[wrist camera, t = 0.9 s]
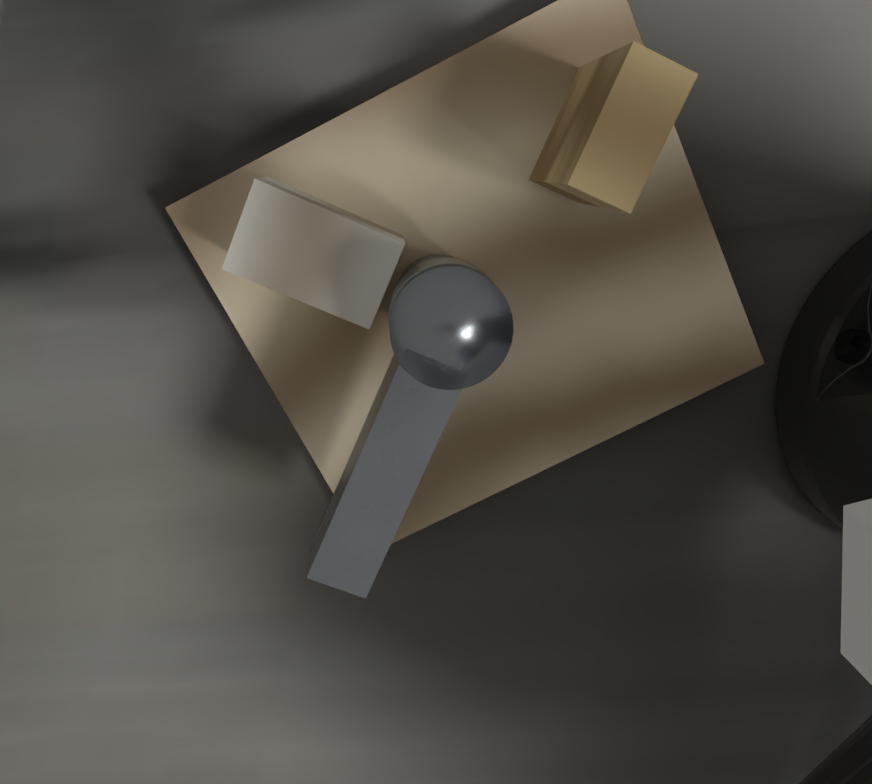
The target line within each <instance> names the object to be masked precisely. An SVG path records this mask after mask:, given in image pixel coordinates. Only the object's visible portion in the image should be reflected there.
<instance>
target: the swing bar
mask: <svg viewBox="0 0 872 784" xmlns="http://www.w3.org/2000/svg"><path fill="white" fill-rule="evenodd" d="M513 331H514V330H513V317H512V312H511V309H510V306H509V304H508V302H507V299H506V298H505V296H504V295H503V293H502V292H501V290H500V289H499V288H498V287H497V286H496V285H495V284H494V283H493V281H492V280H491V279H490V278H489V277H488V276H487V275H486V274H485V273H484V272H483V271H482V270H481V269H479V268H478V267H476V266H475V265H473V264H471V263H469V262H467V261H464V260H461V259H457V258H449V257H443V258H435V259H430V260H427V261H424V262H422V263H420V264H418V265H416V266H415V267H413V268H412V269H410V270H409V271H408V272H407V273H406V274H405V275H404V276H403V277H402V278H401V279H400V281H399V282H398V284H397V285H396V287H395V289H394V291H393V294H392V296H391V299H390V304H389V334H390V342H391V346H392V349H393V352H394V355H393V357H392V360H391V362H390V364H389V366H388V369H387V371H386V373H385V376H384V378H383V380H382V383H381V385H380V387H379V390H378V392H377V394H376V397H375V399H374V401H373V404H372V406H371V408H370V411H369V413H368V415H367V418H366V420H365V422H364V425H363V427H362V429H361V432H360V434H359V436H358V438H357V441H356V443H355V445H354V448H353V450H352V452H351V455H350V457H349V459H348V462H347V464H346V466H345V469H344V471H343V473H342V476H341V478H340V480H339V483H338V485H337V487H336V490H335V492H334V494H333V497H332V499H331V501H330V503H329V506H328V508H327V510H326V513H325V515H324V517H323V520H322V522H321V524H320V527H319V529H318V531H317V534H316V536H315V538H314V541H313V545H312V551H311V556H310V562H309V567H308V573H307V579H310V580H313V581H316V582H319V583H322V584H325V585H327V586H330V587H333V588H336V589H339V590H342V591H345V592H348V593H350V594H353V595H356V596H359V597H362V598H365V599H366V597H367V595H368V593H369V591H370V589H371V587H372V584H373V582H374V580H375V578H376V576H377V573H378V571H379V569H380V567H381V565H382V563H383V560H384V558H385V556H386V554H387V552H388V549H389V547H390V545H391V543H392V541H393V539H394V536H395V534H396V532H397V530H398V528H399V525H400V523H401V521H402V519H403V517H404V515H405V512H406V510H407V508H408V506H409V504H410V501H411V499H412V497H413V495H414V493H415V491H416V488H417V486H418V484H419V482H420V480H421V477H422V475H423V473H424V471H425V469H426V467H427V464H428V462H429V460H430V458H431V456H432V453H433V451H434V449H435V447H436V445H437V443H438V440H439V438H440V436H441V434H442V432H443V429H444V427H445V425H446V423H447V421H448V419H449V416H450V414H451V412H452V410H453V408H454V405H455V403H456V401H457V399H458V397H459V395H460V392H461V390H462V389H464V388H468V387H471V386H474V385H476V384H478V383H480V382H482V381H484V380H485V379H487V378H488V377H489V376H491V375H492V374H493V373H494V372H495V371H496V370H497V369H498V368H499V367H500V365H501V364H502V363H503V361H504V360H505V358H506V356H507V354H508V352H509V349H510V347H511V343H512V339H513Z"/></svg>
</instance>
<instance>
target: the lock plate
mask: <svg viewBox="0 0 872 784" xmlns="http://www.w3.org/2000/svg"><path fill="white" fill-rule="evenodd" d="M697 76H698V73H696V72H694V71H692V70H690V69H688V68H686V67H684V66H682V65H680V64H678V63H676V62H674V61H672V60H670V59H668V58H666V57H664V56H662V55H660V54H658V53H656V52H654V51H652V50H650V49H648V48H646V47H644V44H643V41H642V39H641V36H640V33H639V31H638V28H637V26H636V23H635V20H634V18H633V15H632V12H631V10H630V7H629V4H628V2H627V0H557V1H555V2H554V3H552V4H550V5H548V6H546V7H544V8H542V9H540V10H538V11H537V12H535V13H533V14H531V15H529V16H527V17H525V18H523V19H521V20H519V21H518V22H516V23H514V24H512V25H510V26H508V27H506V28H504V29H502V30H501V31H499V32H497V33H495V34H493V35H491V36H489V37H487V38H485V39H483V40H482V41H480V42H478V43H476V44H474V45H472V46H470V47H468V48H466V49H465V50H463V51H461V52H459V53H457V54H455V55H453V56H451V57H449V58H448V59H446V60H444V61H442V62H440V63H438V64H436V65H434V66H432V67H430V68H429V69H427V70H425V71H423V72H421V73H419V74H417V75H415V76H413V77H412V78H410V79H408V80H406V81H404V82H402V83H400V84H398V85H396V86H394V87H393V88H391V89H389V90H387V91H385V92H383V93H381V94H379V95H377V96H376V97H374V98H372V99H370V100H368V101H366V102H364V103H362V104H360V105H359V106H357V107H355V108H353V109H351V110H349V111H347V112H345V113H343V114H341V115H340V116H338V117H336V118H334V119H332V120H330V121H328V122H326V123H324V124H323V125H321V126H319V127H317V128H315V129H313V130H311V131H309V132H307V133H305V134H304V135H302V136H300V137H298V138H296V139H294V140H292V141H290V142H288V143H287V144H285V145H283V146H281V147H279V148H277V149H275V150H273V151H271V152H270V153H268V154H266V155H264V156H262V157H260V158H258V159H256V160H254V161H252V162H251V163H249V164H247V165H245V166H243V167H241V168H239V169H237V170H235V171H234V172H232V173H230V174H228V175H226V176H224V177H222V178H220V179H218V180H217V181H215V182H213V183H211V184H209V185H207V186H205V187H203V188H201V189H199V190H198V191H196V192H194V193H192V194H190V195H188V196H186V197H184V198H182V199H181V200H179V201H177V202H175V203H173V204H171V205H169V206H167V207H165V209H166V211H167V212H168V214H169V216H170V217H171V219H172V221H173V222H174V224H175V226H176V228H177V229H178V231H179V233H180V234H181V236H182V238H183V239H184V241H185V243H186V245H187V246H188V248H189V250H190V251H191V253H192V255H193V256H194V258H195V260H196V261H197V263H198V265H199V267H200V268H201V270H202V272H203V273H204V275H205V277H206V278H207V280H208V282H209V284H210V285H211V287H212V289H213V290H214V292H215V294H216V295H217V297H218V299H219V301H220V302H221V304H222V306H223V307H224V309H225V311H226V312H227V314H228V316H229V317H230V319H231V321H232V323H233V324H234V326H235V328H236V329H237V331H238V333H239V334H240V336H241V338H242V340H243V341H244V343H245V345H246V346H247V348H248V350H249V351H250V353H251V355H252V356H253V358H254V360H255V362H256V363H257V365H258V367H259V368H260V370H261V372H262V373H263V375H264V377H265V379H266V380H267V382H268V384H269V385H270V387H271V389H272V390H273V392H274V394H275V396H276V397H277V399H278V401H279V402H280V404H281V406H282V407H283V409H284V411H285V412H286V414H287V416H288V418H289V419H290V421H291V423H292V424H293V426H294V428H295V429H296V431H297V433H298V435H299V436H300V438H301V440H302V441H303V443H304V445H305V446H306V448H307V450H308V452H309V453H310V455H311V457H312V458H313V460H314V462H315V463H316V465H317V467H318V468H319V470H320V472H321V474H322V475H323V477H324V479H325V480H326V482H327V484H328V485H329V487H330V489H331V491H332V492H333V494H334V492H335V490H336V487H337V485H338V483H339V480H340V478H341V476H342V473H343V471H344V469H345V466H346V464H347V462H348V459H349V457H350V455H351V452H352V450H353V448H354V445H355V443H356V441H357V438H358V436H359V434H360V432H361V429H362V427H363V425H364V422H365V420H366V418H367V415H368V413H369V411H370V408H371V406H372V404H373V401H374V399H375V397H376V394H377V392H378V390H379V387H380V385H381V383H382V380H383V378H384V376H385V373H386V371H387V369H388V366H389V364H390V362H391V360H392V357H393V355H394V352H393V349H392V346H391V342H390V334H389V304H390V299H391V296H392V294H393V291H394V289H395V287H396V285H397V284H398V282H399V281H400V279H401V278H402V277H403V276H404V275H405V274H406V273H407V272H408V271H409V270H410V269H412V268H413V267H415V266H416V265H418V264H420V263H422V262H424V261H427V260H430V259H435V258H443V257H449V258H457V259H461V260H464V261H467V262H469V263H471V264H473V265H475V266H476V267H478V268H479V269H481V270H482V271H483V272H484V273H485V274H486V275H487V276H488V277H489V278H490V279H491V280H492V281H493V283H494V284H495V285H496V286H497V287H498V288H499V289H500V290H501V292H502V293H503V295H504V296H505V298H506V299H507V302H508V304H509V306H510V309H511V312H512V317H513V330H514V331H513V339H512V343H511V347H510V349H509V352H508V354H507V356H506V358H505V360H504V361H503V363H502V364H501V365H500V367H499V368H498V369H497V370H496V371H495V372H494V373H493V374H492V375H491V376H489V377H488V378H487V379H485V380H484V381H482V382H480V383H478V384H476V385H474V386H471V387H468V388H464V389H462V390H461V392H460V395H459V397H458V399H457V401H456V403H455V405H454V408H453V410H452V412H451V414H450V416H449V419H448V421H447V423H446V425H445V427H444V429H443V432H442V434H441V436H440V438H439V440H438V443H437V445H436V447H435V449H434V451H433V453H432V456H431V458H430V460H429V462H428V464H427V467H426V469H425V471H424V473H423V475H422V477H421V480H420V482H419V484H418V486H417V488H416V491H415V493H414V495H413V497H412V499H411V501H410V504H409V506H408V508H407V510H406V512H405V515H404V517H403V519H402V521H401V523H400V525H399V528H398V530H397V532H396V534H395V536H394V539H393V541H392V543H394V542H396V541H398V540H401V539H403V538H405V537H407V536H409V535H411V534H413V533H415V532H417V531H419V530H421V529H423V528H425V527H427V526H430V525H432V524H434V523H436V522H438V521H440V520H442V519H444V518H446V517H448V516H450V515H452V514H454V513H456V512H458V511H461V510H463V509H465V508H467V507H469V506H471V505H473V504H475V503H477V502H479V501H481V500H483V499H485V498H487V497H489V496H492V495H494V494H496V493H498V492H500V491H502V490H504V489H506V488H508V487H510V486H512V485H514V484H516V483H518V482H521V481H523V480H525V479H527V478H529V477H531V476H533V475H535V474H537V473H539V472H541V471H543V470H545V469H547V468H549V467H552V466H554V465H556V464H558V463H560V462H562V461H564V460H566V459H568V458H570V457H572V456H574V455H576V454H578V453H581V452H583V451H585V450H587V449H589V448H591V447H593V446H595V445H597V444H599V443H601V442H603V441H605V440H607V439H609V438H612V437H614V436H616V435H618V434H620V433H622V432H624V431H626V430H628V429H630V428H632V427H634V426H636V425H638V424H640V423H643V422H645V421H647V420H649V419H651V418H653V417H655V416H657V415H659V414H661V413H663V412H665V411H667V410H669V409H672V408H674V407H676V406H678V405H680V404H682V403H684V402H686V401H688V400H690V399H692V398H694V397H696V396H698V395H700V394H703V393H705V392H707V391H709V390H711V389H713V388H715V387H717V386H719V385H721V384H723V383H725V382H727V381H729V380H732V379H734V378H736V377H738V376H740V375H742V374H744V373H746V372H748V371H750V370H752V369H754V368H756V367H758V366H760V365H763V364H765V363H764V361H763V358H762V355H761V353H760V350H759V347H758V345H757V342H756V340H755V337H754V334H753V332H752V329H751V326H750V324H749V321H748V318H747V316H746V313H745V311H744V308H743V305H742V303H741V300H740V297H739V295H738V292H737V289H736V287H735V284H734V282H733V279H732V276H731V274H730V271H729V268H728V266H727V263H726V260H725V258H724V255H723V252H722V250H721V247H720V245H719V242H718V239H717V237H716V234H715V231H714V229H713V226H712V223H711V221H710V218H709V216H708V213H707V210H706V208H705V205H704V202H703V200H702V197H701V194H700V192H699V189H698V187H697V184H696V181H695V179H694V176H693V173H692V171H691V168H690V165H689V163H688V160H687V158H686V155H685V152H684V150H683V147H682V144H681V142H680V139H679V136H678V134H677V131H676V128H675V126H674V123H675V121H676V119H677V117H678V115H679V113H680V111H681V109H682V107H683V105H684V103H685V101H686V99H687V97H688V95H689V92H690V90H691V88H692V86H693V84H694V82H695V80H696V78H697ZM392 543H391V544H392Z"/></svg>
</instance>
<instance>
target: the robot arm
mask: <svg viewBox="0 0 872 784" xmlns="http://www.w3.org/2000/svg"><path fill="white" fill-rule="evenodd" d="M776 418H777V428H778V434H779V439H780V443H781V448H782V451H783V454H784V457H785V460H786V462H787V465H788V467H789V469H790V472H791V474H792V475H793V477H794V479H795V481H796V483H797V484H798V486H799V487H800V489H801V490H802V492H803V493H804V494H805V496H806V497H807V498H808V499H809V500H810V502H811V503H812V504H813V505H814V506H815V507H816V508H817V509H818V510H819V511H820V512H822V513H823V514H824V515H825V516H826V517H827V518H829V519H830V520H831V521H832V522H834V523H835V524H836V525H837V526H839V527H840V528H841V529H843V551H842V601H841V651H840V653H841V654H842V655H843V656H844V657H845V658H846V659H847V660H848V661H849V662H850V663H851V664H852V665H853V666H854V667H855V668H856V669H857V670H858V672H859V673H860V674H861V675H862V676H863V677H864V678H865V679H866V680H867V681H868V682H869V683H870V684H871V685H872V232H871V233H869V234H868V235H867V236H865V237H864V238H863V239H862V240H860V241H859V242H858V243H857V244H856V245H854V246H853V247H852V248H851V249H850V250H849V251H848V252H847V253H846V254H845V255H844V256H842V258H841V259H840V260H839V261H838V262H837V263H836V264H835V265H834V266H833V267H832V268H831V269H830V271H829V272H828V273H827V274H826V275H825V277H824V278H823V279H822V280H821V282H820V283H819V284H818V286H817V287H816V289H815V290H814V291H813V293H812V294H811V296H810V298H809V299H808V301H807V302H806V304H805V306H804V307H803V309H802V311H801V313H800V315H799V317H798V319H797V321H796V323H795V325H794V327H793V329H792V332H791V334H790V337H789V340H788V342H787V345H786V348H785V351H784V355H783V358H782V362H781V367H780V371H779V377H778V383H777V394H776ZM799 784H872V715H871V716H870V717H869V718H868V719H867V720H866V721H865V722H864V723H863V724H862V725H861V726H860V727H859V728H858V729H856V730H855V731H854V732H853V733H852V734H851V735H850V736H849V737H848V738H847V739H846V740H845V741H844V742H843V743H842V744H841V745H840V746H838V747H837V748H836V749H835V750H834V751H833V752H832V753H831V754H830V755H829V756H828V757H827V758H826V759H825V760H824V761H823V762H822V763H821V764H819V765H818V766H817V767H816V768H815V769H814V770H813V771H812V772H811V773H810V774H809V775H808V776H807V777H806V778H805V779H804V780H803V781H801V782H800V783H799Z"/></svg>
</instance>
